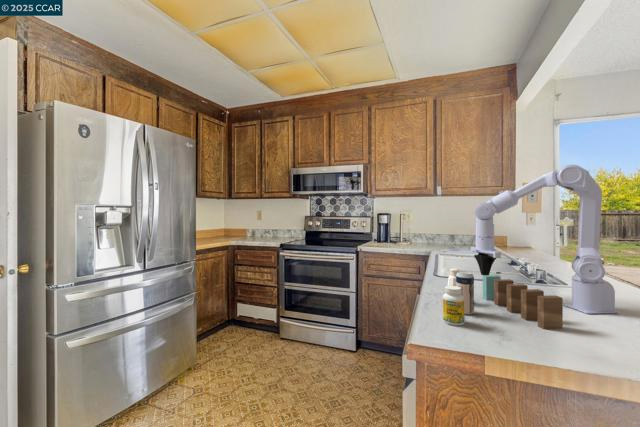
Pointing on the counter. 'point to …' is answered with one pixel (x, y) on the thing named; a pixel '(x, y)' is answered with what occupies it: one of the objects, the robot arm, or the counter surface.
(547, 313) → the walnut domino
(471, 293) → the beer can
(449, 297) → the supplement bottle
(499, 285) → the walnut domino
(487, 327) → the counter surface
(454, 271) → the pepper shaker
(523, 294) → the walnut domino
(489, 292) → the teal domino
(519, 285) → the walnut domino
